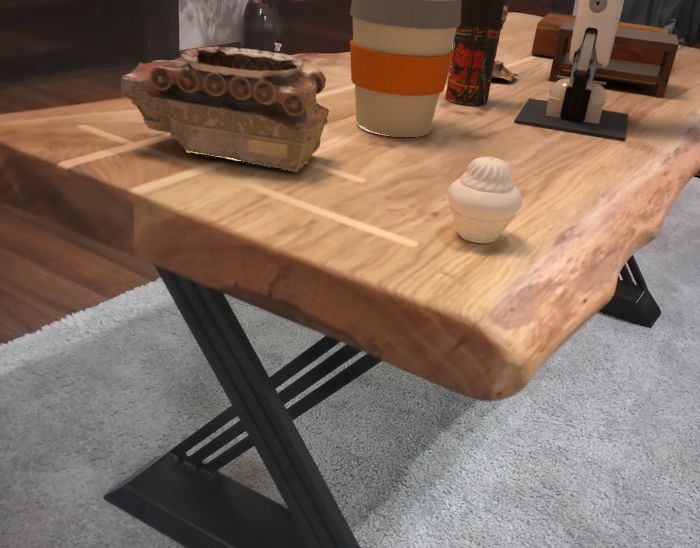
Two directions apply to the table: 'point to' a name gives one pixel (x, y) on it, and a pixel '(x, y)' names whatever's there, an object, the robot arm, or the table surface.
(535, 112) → the mat
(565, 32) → the rack
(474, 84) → the deodorant
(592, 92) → the cream arch-topped block
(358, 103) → the reusable coffee cup
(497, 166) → the muffin
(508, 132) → the table surface
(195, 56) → the toy armored vehicle
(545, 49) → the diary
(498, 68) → the plant with pod
